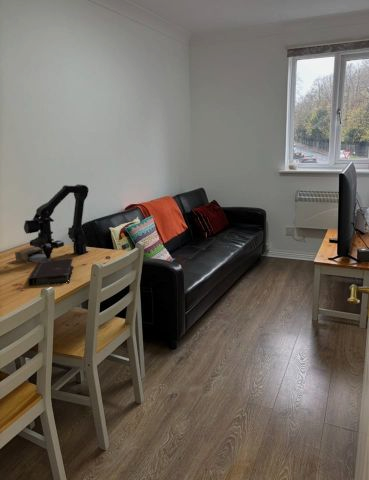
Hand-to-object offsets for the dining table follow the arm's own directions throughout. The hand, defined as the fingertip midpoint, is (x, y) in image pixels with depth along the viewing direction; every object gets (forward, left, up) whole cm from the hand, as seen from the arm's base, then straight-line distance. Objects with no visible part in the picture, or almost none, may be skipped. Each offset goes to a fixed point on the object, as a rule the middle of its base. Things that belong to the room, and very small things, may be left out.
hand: (48, 258), depth 215 cm
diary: (-20, +20, -2) cm, 28 cm away
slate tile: (+7, +1, -2) cm, 7 cm away
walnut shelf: (+12, 0, -1) cm, 12 cm away
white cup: (+22, -24, -1) cm, 33 cm away
